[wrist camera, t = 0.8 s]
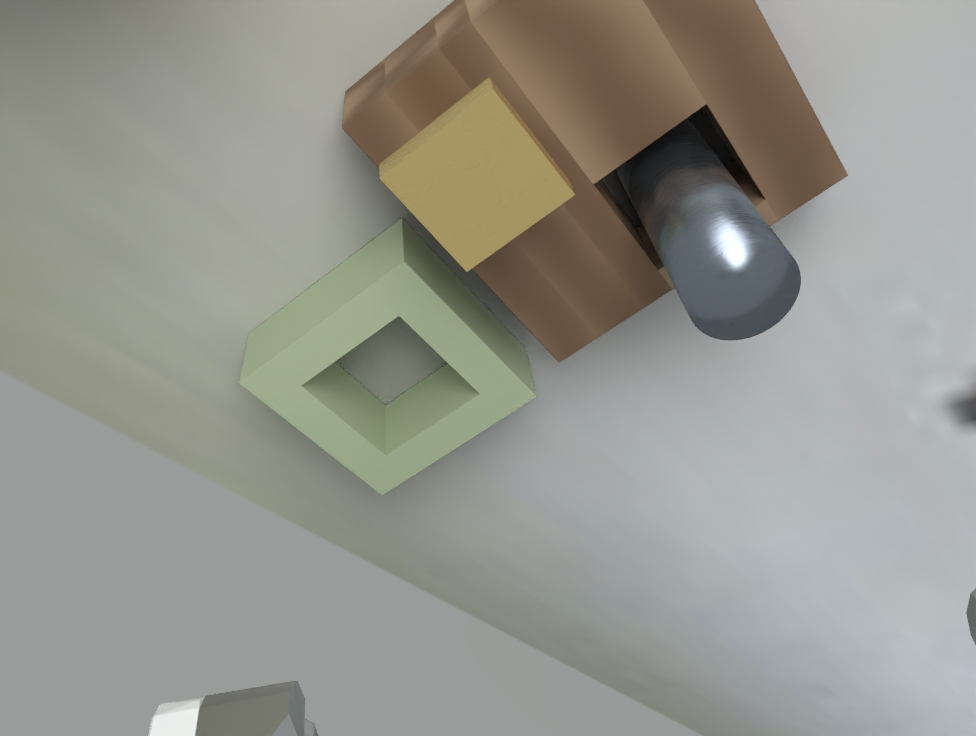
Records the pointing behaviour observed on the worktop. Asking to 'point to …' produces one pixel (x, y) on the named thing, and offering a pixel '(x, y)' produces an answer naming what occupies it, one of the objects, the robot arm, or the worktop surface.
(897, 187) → the worktop surface
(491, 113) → the yellow square block
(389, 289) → the square ring
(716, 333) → the peg
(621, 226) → the socket block
